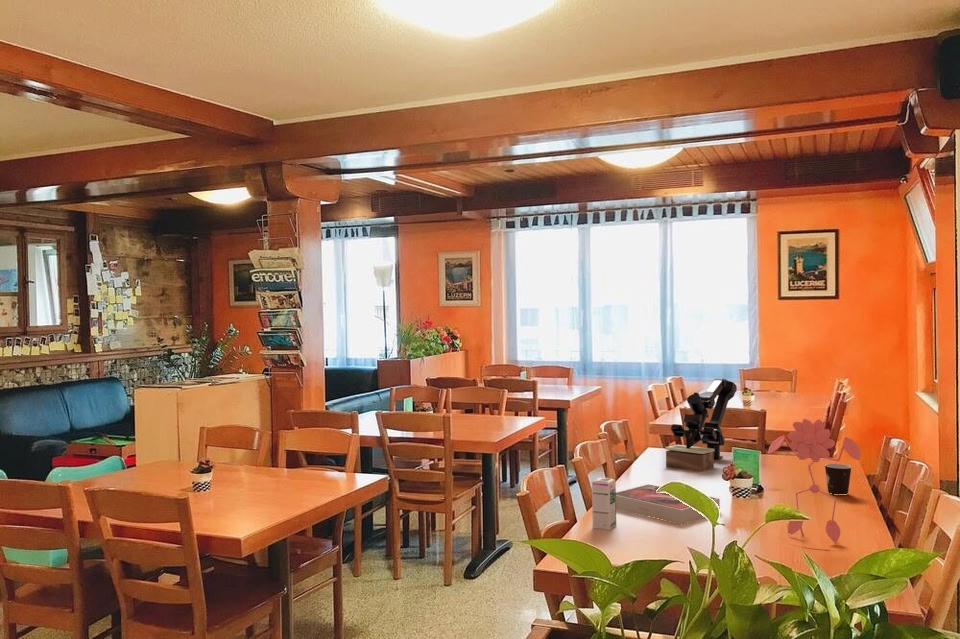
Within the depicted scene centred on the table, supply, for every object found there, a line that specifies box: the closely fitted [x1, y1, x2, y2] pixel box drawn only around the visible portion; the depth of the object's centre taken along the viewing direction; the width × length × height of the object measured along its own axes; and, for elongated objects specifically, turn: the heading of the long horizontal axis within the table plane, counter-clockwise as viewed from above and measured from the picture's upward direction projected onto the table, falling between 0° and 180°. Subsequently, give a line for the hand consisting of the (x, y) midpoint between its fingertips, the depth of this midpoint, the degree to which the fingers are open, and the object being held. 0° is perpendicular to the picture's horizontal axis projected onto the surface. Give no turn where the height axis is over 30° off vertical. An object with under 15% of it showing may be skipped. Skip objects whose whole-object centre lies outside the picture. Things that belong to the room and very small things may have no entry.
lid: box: [664, 444, 714, 454], centre depth 320 cm, size 12×17×1 cm
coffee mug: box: [824, 463, 852, 494], centre depth 269 cm, size 12×9×10 cm
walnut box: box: [665, 450, 715, 472], centre depth 320 cm, size 12×16×6 cm
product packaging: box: [616, 483, 721, 525], centre depth 250 cm, size 22×28×5 cm
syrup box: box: [591, 477, 617, 531], centre depth 230 cm, size 6×6×14 cm
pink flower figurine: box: [767, 418, 861, 552], centre depth 214 cm, size 15×26×35 cm, turn 49°
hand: (687, 447), depth 318 cm, fingers closed, pressing on lid
